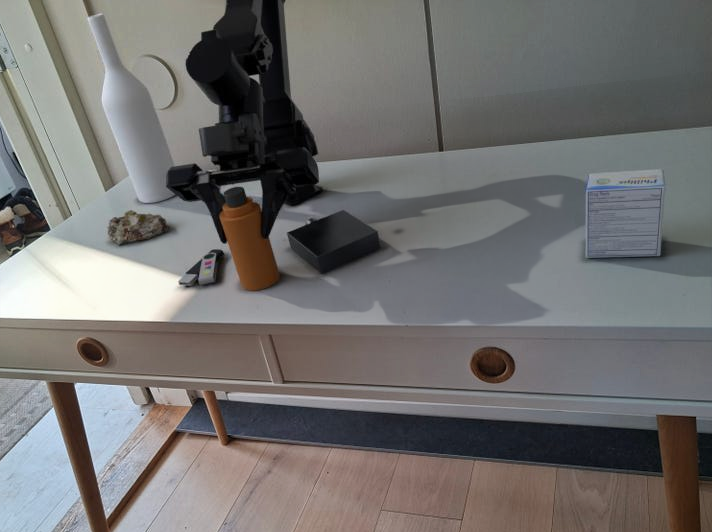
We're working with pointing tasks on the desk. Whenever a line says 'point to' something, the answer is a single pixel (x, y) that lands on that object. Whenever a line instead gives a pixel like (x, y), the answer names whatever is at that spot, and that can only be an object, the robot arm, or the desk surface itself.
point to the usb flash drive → (203, 269)
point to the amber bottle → (248, 241)
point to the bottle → (133, 121)
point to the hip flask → (333, 241)
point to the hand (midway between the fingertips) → (244, 240)
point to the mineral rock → (135, 227)
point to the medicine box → (624, 213)
